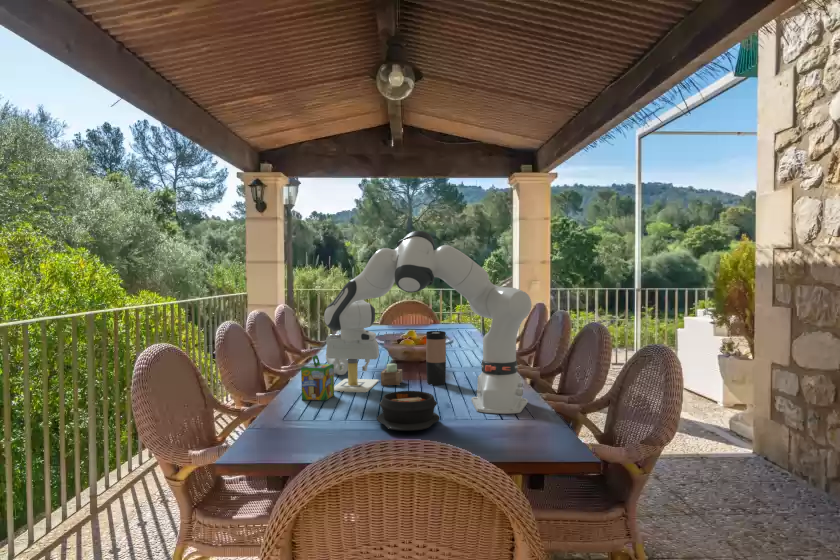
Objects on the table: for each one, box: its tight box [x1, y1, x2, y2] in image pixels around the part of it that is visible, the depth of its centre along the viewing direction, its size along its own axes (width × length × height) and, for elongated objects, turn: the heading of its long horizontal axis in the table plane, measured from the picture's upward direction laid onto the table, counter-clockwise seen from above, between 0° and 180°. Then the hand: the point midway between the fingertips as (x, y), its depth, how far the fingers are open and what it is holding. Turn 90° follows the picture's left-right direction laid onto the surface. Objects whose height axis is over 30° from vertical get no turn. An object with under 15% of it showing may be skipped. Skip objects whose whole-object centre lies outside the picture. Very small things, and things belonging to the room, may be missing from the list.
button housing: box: [380, 368, 403, 386], centre depth 232 cm, size 7×7×5 cm
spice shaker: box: [347, 359, 359, 385], centre depth 228 cm, size 4×4×10 cm
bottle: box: [325, 356, 348, 376], centre depth 257 cm, size 9×9×30 cm
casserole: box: [376, 390, 441, 432], centre depth 176 cm, size 25×19×8 cm
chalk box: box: [300, 354, 335, 402], centre depth 209 cm, size 9×9×15 cm
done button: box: [386, 363, 398, 372], centre depth 231 cm, size 4×4×6 cm
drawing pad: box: [334, 378, 380, 393], centre depth 228 cm, size 20×14×1 cm
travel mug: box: [425, 330, 447, 386], centre depth 232 cm, size 8×8×20 cm
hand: (352, 370), depth 228 cm, fingers open, 8 cm apart
